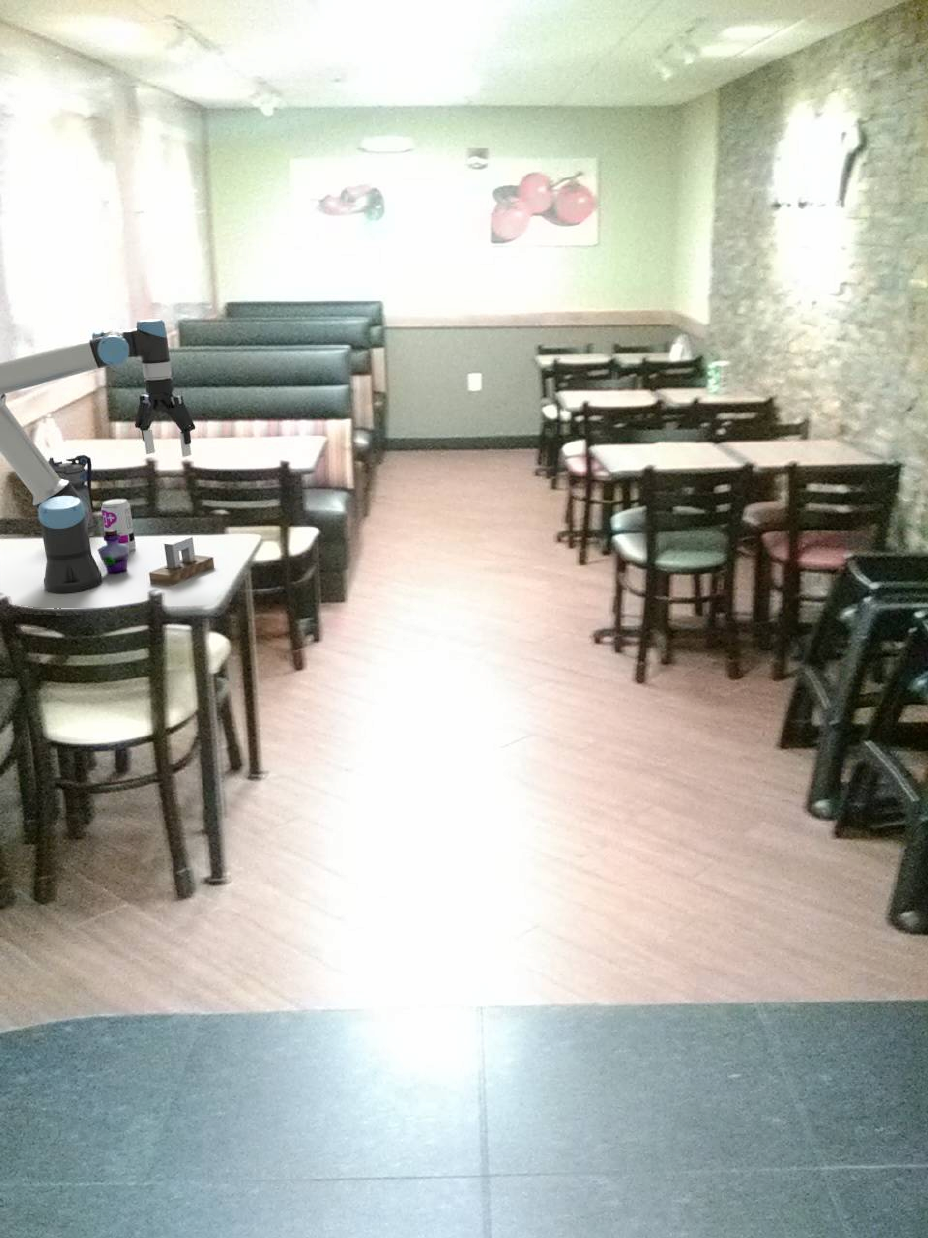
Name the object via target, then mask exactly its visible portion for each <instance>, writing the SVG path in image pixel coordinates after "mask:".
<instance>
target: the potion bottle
mask: <svg viewBox="0 0 928 1238" xmlns="http://www.w3.org/2000/svg"><path fill="white" fill-rule="evenodd" d="M102 538H103V540H104V541H105V542H106V541H107V543H106V544H105V545H102V546H101V547H99V548H97V552H98V554H99V557H100V560H101V561H102V562H103V565H104V566H105V567H104V568H105V570H106V573H107V574H108V575H119V574H124V573H125V572H127V571H128V570H127V569H128V558H129V555H130V554H129V553H130V552H129V546H128V545H126V544H118V540H119V539H120V534H118V533H117V530H107V531H105V530H104V535H103V536H102Z"/></svg>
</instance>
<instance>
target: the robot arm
mask: <svg viewBox="0 0 928 1238" xmlns="http://www.w3.org/2000/svg"><path fill="white" fill-rule="evenodd" d="M167 334H168V333H167V327H166V323H165V322H164V321H163V319H158V318H157V319H155V318H154V319H153V318H152V319H142V320H137V322H136V328H131V329H129V328H128V329H113V330H107V329H103V330H101V331H100V330H99V331H94V332H93V333H92V335H91V337H92V338H91V339H88V340H84V341H81V342H76V343H73V344H69V345H65V346H61V347H58V348H54V349H49V350H46V351H41V352H37V353H35V354H34V353H33V354H31V355H27V356H23V357H18V358H15V359H12V360H7V361H3V362H0V454H1V455H2V457H3V458H4V459H5V460H6V461H7V462H8V465H10V466H11V468H12V469H13V471H14V473H16V475H17V476H18V478H19V479H20V480H21V481H22V483H23V484H24V485H25V486H26V488H27V489H28V491H29V492H30V494H31V495H32V497H33V498H32V499H33V500H32V505H33V507H34V508H35V509H36V510H37V512H38V514H37V517H38V520H39V523H40V529H41V533H42V540H43V545H44V551H45V553H44V554H45V557H46V563H45V564H46V565H45V573H44V578H43V585H44V586H43V587H44V590H45V591H47V592H49V593H54V594H55V593H56V594H58V593H59V594H66V593H74V592H75V593H76V592H82V591H86V590H89V589H93V588H95V587H98V586H99V585H100V584H102V583H103V576H102V572H101V570H100V569H99V566H98V565H97V562H96V560H95V558H94V556H93V554H92V549H91V543H90V537H89V533H88V529H87V526H88V523H89V520H90V515H91V512H90V507H89V504H88V502H87V500H86V499H85V498H84V497H83V496H82V495H81V494H80V493H78V492H77V491H76V490H75V489H74V487H73V486H72V485H71V483H70V482H69V481H68V480H64V479H61V478H59V476H58V475H57V474H56V472H55V471H54V470H53V468H52V467H51V466H50V464H49V460H47V459H46V458H45V456H44V455H43V453H42V452H41V451H40V449H39V448H38V446H37V445H36V444H35V443H34V441H33V440H32V438H30V435H28V433H27V432H26V430H25V429H24V428H23V426H22V424H20V423H19V421H18V420H17V418H16V417H15V415H14V413H12V411H11V410H10V408H8V406H7V405H6V402H7V401H6V400H7V394H9V393H13V392H17V391H19V390H24V389H27V388H31V387H35V386H38V385H43V384H47V383H50V382H54V381H57V380H61V379H64V378H68V377H72V376H76V375H79V374H83V373H87V372H91V371H94V370H98V369H101V368H107V367H110V366H114V367H115V366H119V365H122V364H124V363H125V362H126V361H127V360H128V359H130V358H141V365H142V371H143V372H142V373H143V378H145V379H144V387H145V391H146V394H142V395H139V406H138V409H137V414H136V419H135V423H134V427H135V428H136V429H140V431H141V436H142V441H143V442H144V447H145V449H144V450H145V454H146V455H149V454H153V453H154V454H155V453H156V449H155V443H154V442H155V441H154V435H153V429H152V428H151V425H152V424H153V422H154V420H155V418H156V415H157V414H158V413H159V412H160V413H164V414H165V413H166V414H167V415H168V416H169V417H170V418H171V420H172V421H173V422H174V424H176V426H177V427H178V428H179V430H180V432H179V440H180V447H181V455H182V457H183V458H185V457H188V456H191V455H192V450H191V444H192V439H191V431H193V430H194V431H195V430H196V425H195V423H194V420H193V419H192V417H191V415H190V413H189V411H188V409H187V406H186V405H185V402H184V398H183V396H182V395H176V396H174V394H173V392H174V390H175V387H174V380H173V378H172V366H171V365H172V364H171V359H170V358H171V356H170V350H169V342H168V341H169V340H168V335H167Z"/></svg>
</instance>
